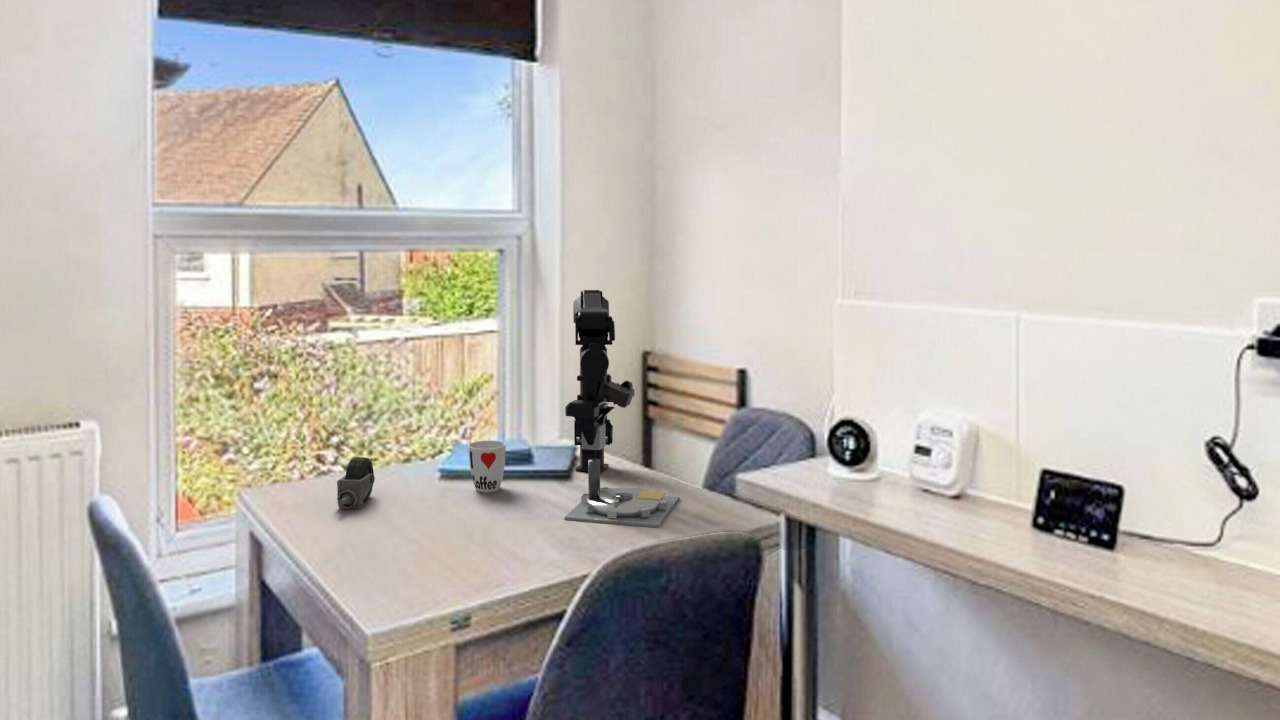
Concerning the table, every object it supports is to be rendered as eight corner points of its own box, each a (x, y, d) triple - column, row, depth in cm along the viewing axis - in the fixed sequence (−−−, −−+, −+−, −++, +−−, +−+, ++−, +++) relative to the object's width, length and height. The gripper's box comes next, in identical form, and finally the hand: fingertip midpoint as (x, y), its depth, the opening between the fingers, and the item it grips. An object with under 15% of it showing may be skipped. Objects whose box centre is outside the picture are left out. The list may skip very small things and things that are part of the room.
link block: (587, 444, 196) (587, 421, 195) (605, 446, 194) (605, 422, 194) (581, 448, 192) (581, 425, 191) (599, 450, 191) (599, 426, 190)
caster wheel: (354, 498, 194) (327, 513, 180) (354, 453, 194) (326, 465, 179) (380, 498, 194) (355, 514, 179) (380, 454, 194) (355, 465, 179)
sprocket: (595, 490, 195) (595, 446, 194) (675, 496, 191) (675, 452, 189) (568, 514, 178) (568, 467, 177) (656, 522, 174) (656, 474, 172)
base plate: (593, 492, 196) (593, 489, 196) (679, 499, 191) (679, 496, 191) (564, 519, 178) (564, 516, 178) (658, 527, 173) (658, 524, 173)
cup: (462, 492, 195) (461, 447, 194) (479, 482, 203) (478, 439, 202) (496, 496, 193) (495, 450, 192) (512, 485, 201) (511, 441, 199)
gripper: (616, 378, 180) (616, 455, 182) (642, 366, 198) (642, 436, 200) (564, 375, 183) (564, 451, 185) (594, 364, 201) (594, 433, 203)
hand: (593, 442), depth 193 cm, fingers closed on link block, 4 cm apart
